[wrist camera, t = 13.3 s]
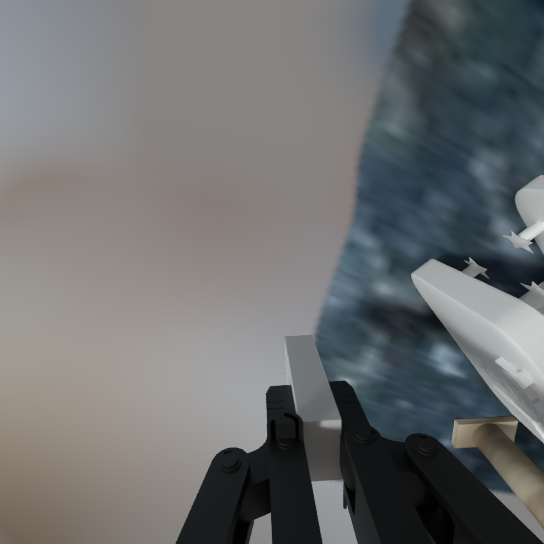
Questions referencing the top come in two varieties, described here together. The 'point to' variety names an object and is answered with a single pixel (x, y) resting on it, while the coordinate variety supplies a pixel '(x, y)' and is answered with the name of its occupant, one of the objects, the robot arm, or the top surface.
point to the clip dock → (504, 457)
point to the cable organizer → (498, 319)
